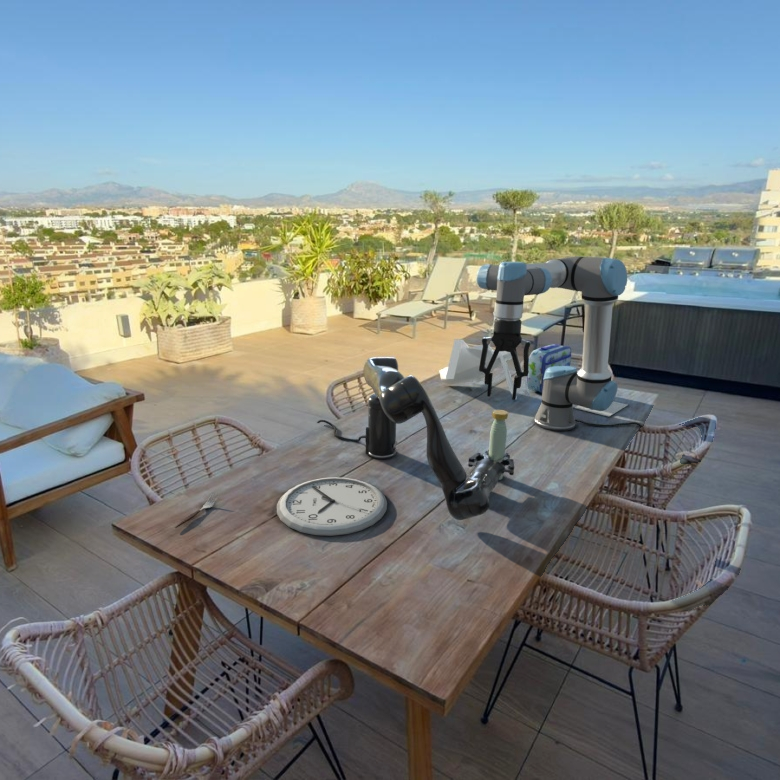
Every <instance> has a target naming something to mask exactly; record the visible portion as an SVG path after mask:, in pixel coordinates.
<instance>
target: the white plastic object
mask: <svg viewBox="0 0 780 780" xmlns="http://www.w3.org/2000/svg"><path fill="white" fill-rule="evenodd" d="M492 315H493V319H494V320H495V319H496V318H497V317H495V310H494V311H492ZM490 345H491V344H489V345H488V351H487V356H486V362H485V368H487V366H488V364H489V362H490V360H491V358H492V355H493V353H494V351H495V349H493V348H492V347H491V346H490ZM482 349H483V345H482V344H479V345H473V346H469V345H468V343H466V342H465V340H464V339H463V338H460V339H458V338H454V340H453V344H452V349H451V353H450V357H449V362H448V366H446V367H444V368H442V369H440V370H439V371H438V372H439V376H440V381H442V383H443V384H444V385H445V386H449V385H458V384H467V383H468V384H469V383H473V384H477V383H480V382H482V381H484V378H485V373H483V372H480V371H479V366H480V360H481V355H482ZM517 356H518V357H519V355H518V354H517ZM510 360H513V359H512V356H511V353H510V352H506V351H499V353H498V356H497V358H496V360H495V362H494V364H493V366H492V369H491V371H490V373H493V372H494V371H495V370H496V369H497V368H499V367H500V366H502V370H503V373H504V376H505V380H506V383H507V386H508V390H509V393H510V394H511V395H512V396H513V386H514V380H513V378H512V375H511V371H510V369H509V365H508V361H510ZM519 363H520V367H521V371H522V372H523V371H524V370H523V369H522V368H523V367H522V366H521V362H520V361H519ZM521 389H522V391H523V393H524V395H525V396H526V397H528V396H531V395H530V390H529V389H528V387H527V380H526V378H525V376H524V377H522V380H521ZM515 400H517V394H516V398H515Z"/></svg>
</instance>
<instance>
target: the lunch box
mask: <svg viewBox="0 0 780 780" xmlns="http://www.w3.org/2000/svg"><path fill="white" fill-rule="evenodd" d="M571 361H572V348H571V347H570V346H567V345H566V346H565V345H561V344H556V343H555V344H554V343H553V344H548V345H545V346H541V347H539V348H536V349H534V350H532V351H531V353H530V354H529V374H528V376H526V384H527V387H528V390H529V391H532V392H533V391H534V392H539V393H540V394H542V391H543V381H544V380H543V378H544V374H545V371H546V369H547V368H550V367H554V366H571Z"/></svg>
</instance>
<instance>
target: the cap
mask: <svg viewBox="0 0 780 780" xmlns="http://www.w3.org/2000/svg"><path fill="white" fill-rule="evenodd" d="M508 413H509V412H508V411H507V410H504V409H494V410H492V418H493V420H494V419H498V420H505V421H506V420H507V419H508V416H509V414H508Z"/></svg>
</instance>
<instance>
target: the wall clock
mask: <svg viewBox="0 0 780 780" xmlns="http://www.w3.org/2000/svg"><path fill="white" fill-rule="evenodd" d="M387 509H388V500H387V498H386V496H385V494H384V493H383V492H382V491H381V490H380V489H379V488H377V487H376V486H374V485H372V484H371V483H369V482H365V481H362V480H359V479H355V478H349V477H338V476H337V477H335V476H333V477H332V476H331V477H322V478H317V479H312V480H307V481H305V482H302V483H299V484H297V485H295V486H293V487H292V488H290V489H288V490H287V491H286V492H285V493H284V494H283V495H281V496H280V498H279V499H278V502H277V503H276V515H277V517H278V518H279V520H280V521H281V522H282V523H283V524H285V525H286V526H287V527H288V528H290V529H293V530H295V531H297V532H299V533H303V534H308V535H312V536H327V537H328V536H329V537H331V536H332V537H333V536H342V535H350V534H352V533H356V532H361V531H363V530H366V529H368V528H369V527H372V526H373V525H375V524H376V523H378V522H379V521H380V520H381V519H382V518H383V517H384V516H385V514H386V512H387Z"/></svg>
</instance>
